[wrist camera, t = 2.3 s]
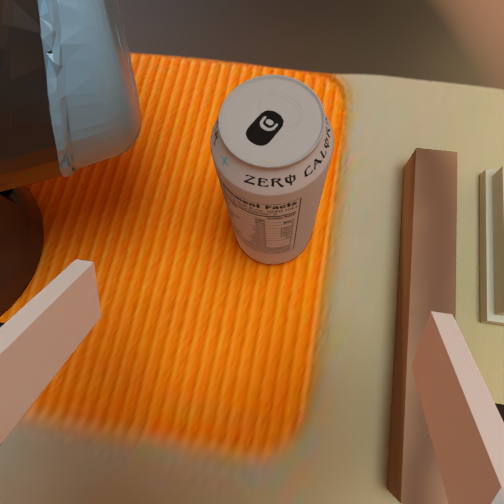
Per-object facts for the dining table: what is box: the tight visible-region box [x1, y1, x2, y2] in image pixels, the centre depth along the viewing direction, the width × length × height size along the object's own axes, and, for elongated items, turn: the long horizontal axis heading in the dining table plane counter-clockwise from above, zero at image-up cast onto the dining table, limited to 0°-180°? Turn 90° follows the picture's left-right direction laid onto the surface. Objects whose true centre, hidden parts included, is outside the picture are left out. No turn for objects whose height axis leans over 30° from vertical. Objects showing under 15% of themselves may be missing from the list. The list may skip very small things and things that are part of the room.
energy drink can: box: [211, 75, 334, 264], centre depth 25 cm, size 6×6×15 cm
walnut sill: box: [387, 148, 457, 504], centre depth 28 cm, size 3×24×3 cm, turn 171°
